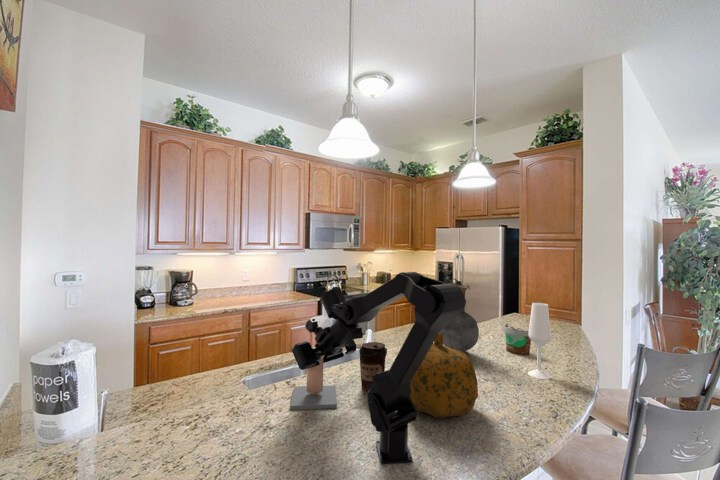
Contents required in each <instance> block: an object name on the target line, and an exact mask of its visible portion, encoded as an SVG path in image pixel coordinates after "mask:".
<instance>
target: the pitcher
mask: <svg viewBox="0 0 720 480" xmlns="http://www.w3.org/2000/svg"><path fill="white" fill-rule="evenodd" d="M452 279H453V280H454V281H455V282H453V281H451V282H450V281H449V284H450V283H451V284H455V285H457V286H458V287H459V288H460V289H461V290H462V292H463V294H464V297H465V298H466V293H467V290H469V291H471V290H472V288H471V286H470V285H464V284H463V281H462V280H458V279H457V278H454V277H453V278H452ZM465 308H466V307H465ZM465 308H464V309H463V311H462V312H461V313H460V314H459V315H458V316H457V317H456V319H455V320H454V321H452V322H451V323H450V324H449V325H447V326H446V327H445V328H444V329H442V330H441V331H440V332H439V333H442V334H443V346H447V347H449V348H451V349H454V350H458V351H462V352H464V353H465V354H466V355H467V356H468V355H469V354H468V352H467V351H469V350H471V349H473V348H474V346H476V344H477V342H478V340H479V337H480V330H479V325H478V323H477V320H476V319H475V318H474V317H473V316H472V315H471V314H470V313H468V312H466V311H465V310H466V309H465Z"/></svg>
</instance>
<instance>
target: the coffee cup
mask: <svg viewBox="0 0 720 480" xmlns="http://www.w3.org/2000/svg"><path fill="white" fill-rule="evenodd" d="M358 351H359V366H360V369H359V370H360V372H359V373H360V381H361V389H362V390H363V391H365V392H367V393H368V392H369V390H370V389H369V388H368V386H370V385H371V383H372V380H373V377H374V376H375V374H378V373H381V372H384V371H386V370H385V369H386V358H387V354H388V349H387V348H386V344H385V343H383V342H378V341H369V342H364V343H362V344H361V346H360V348H359V350H358Z"/></svg>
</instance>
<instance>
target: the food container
mask: <svg viewBox="0 0 720 480" xmlns="http://www.w3.org/2000/svg"><path fill="white" fill-rule="evenodd" d="M503 332H504V338H505V339H504V340H505V349H506V351H507V352H508V353H510V354H513V355H517V356H530V354H531V353H530V352H531V345H532V344H531V343H532V341H531V339H530V338H529V336H528V333H529V330H524V329H522V328H519V327H512V326H509V323H506V324H504V326H503Z"/></svg>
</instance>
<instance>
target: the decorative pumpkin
mask: <svg viewBox="0 0 720 480" xmlns="http://www.w3.org/2000/svg"><path fill="white" fill-rule="evenodd" d="M410 386H411V394H410V398H411V400H412V402H413V404H414V406H415V407H416V409H417V411H419V412H422V413H427V414H428V415H431V416H432V417H433V418H434V419H435V418H436V419H438V420H441V419H445V418H449V417H461V416H465V415H468V414H469V413H471V412H472V410H473V409H474V407H475V403H476V400H477V399H478V397H479V386H478V379H477V375H476V369H475V367H474V363H473V361H472V360H471V358H470V357H469V356H468V354H467V355H466V354H465V353H464V352H462V351H458V350H454V349H451V348H449V347H447V346H445V345H444V344H443V334H442V333H439V334H438V335H437V337H436V339H435V340H434V342H433V344H432V346H431V347H430V349H429V351H428V353H427V354H426V356H425V358H424V359H423V361H422V363H421V365H420V366H419V368H418V370H417V372H416V373H415V375H414V377H413V378H412V380H411V382H410Z"/></svg>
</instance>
